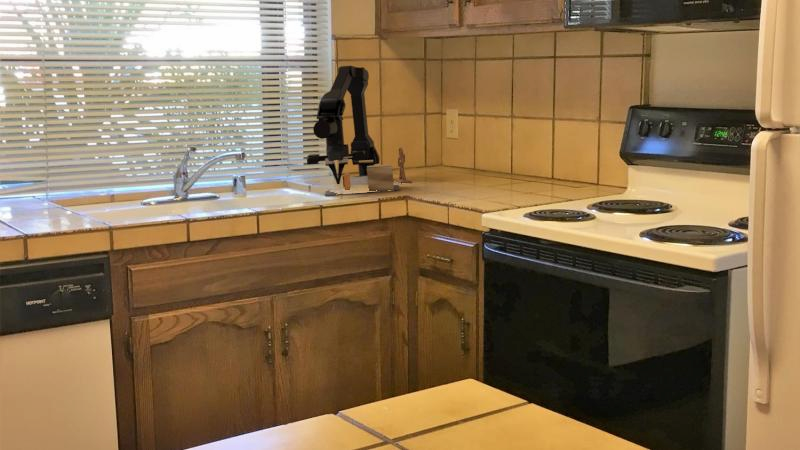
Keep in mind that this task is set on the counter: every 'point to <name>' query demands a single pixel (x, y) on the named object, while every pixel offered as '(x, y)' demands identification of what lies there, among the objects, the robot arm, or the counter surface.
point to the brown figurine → (402, 168)
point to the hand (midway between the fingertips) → (338, 184)
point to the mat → (396, 187)
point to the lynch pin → (354, 180)
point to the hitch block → (380, 177)
